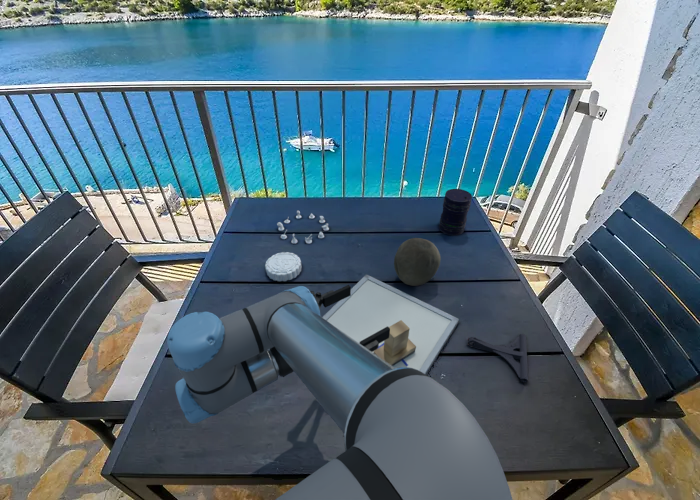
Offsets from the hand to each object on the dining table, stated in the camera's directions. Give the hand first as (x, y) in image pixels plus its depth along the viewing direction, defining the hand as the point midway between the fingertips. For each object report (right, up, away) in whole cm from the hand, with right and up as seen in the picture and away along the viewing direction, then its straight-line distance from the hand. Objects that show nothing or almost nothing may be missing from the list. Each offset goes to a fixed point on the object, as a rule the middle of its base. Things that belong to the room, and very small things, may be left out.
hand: (368, 309), depth 71 cm
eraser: (+8, -15, +19) cm, 25 cm away
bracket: (+35, -15, +22) cm, 44 cm away
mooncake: (-26, +5, +47) cm, 54 cm away
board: (+6, -11, +27) cm, 29 cm away
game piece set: (-22, +20, +66) cm, 73 cm away
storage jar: (+37, +21, +67) cm, 79 cm away
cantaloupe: (+17, +2, +44) cm, 47 cm away
